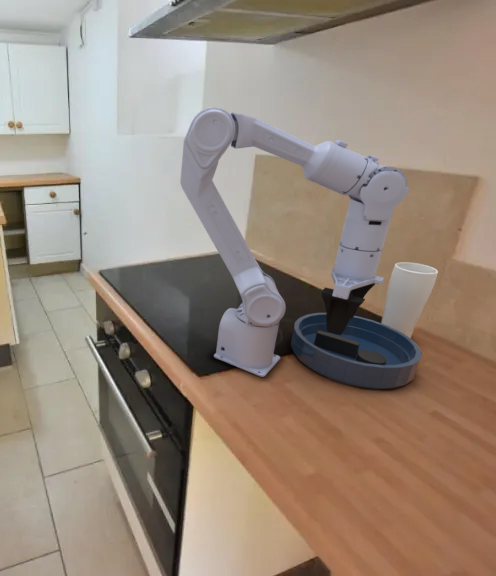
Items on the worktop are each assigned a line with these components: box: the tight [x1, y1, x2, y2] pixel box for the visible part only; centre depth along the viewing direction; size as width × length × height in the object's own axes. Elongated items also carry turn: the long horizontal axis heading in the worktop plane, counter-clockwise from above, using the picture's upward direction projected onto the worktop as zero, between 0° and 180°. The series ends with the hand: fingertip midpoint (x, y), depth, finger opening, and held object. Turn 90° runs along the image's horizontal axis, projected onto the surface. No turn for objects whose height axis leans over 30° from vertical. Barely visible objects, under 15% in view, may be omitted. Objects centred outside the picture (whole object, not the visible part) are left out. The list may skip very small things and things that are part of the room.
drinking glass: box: [380, 261, 439, 339], centre depth 75 cm, size 7×7×15 cm
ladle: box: [314, 330, 387, 365], centre depth 70 cm, size 12×4×3 cm, turn 48°
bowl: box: [290, 312, 423, 390], centre depth 69 cm, size 20×20×4 cm
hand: (340, 324), depth 64 cm, fingers open, 7 cm apart
